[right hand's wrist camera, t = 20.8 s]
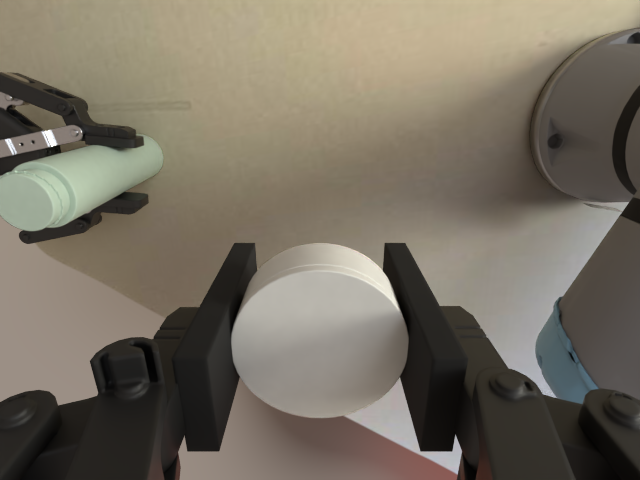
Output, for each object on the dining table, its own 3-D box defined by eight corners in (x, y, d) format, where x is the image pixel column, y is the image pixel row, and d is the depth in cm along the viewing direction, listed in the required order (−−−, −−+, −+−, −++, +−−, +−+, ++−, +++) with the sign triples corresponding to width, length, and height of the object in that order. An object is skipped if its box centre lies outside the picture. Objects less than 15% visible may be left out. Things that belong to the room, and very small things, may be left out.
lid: (242, 369, 13) (230, 412, 11) (244, 235, 11) (230, 263, 9) (384, 379, 13) (393, 423, 11) (408, 249, 11) (425, 278, 10)
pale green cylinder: (167, 142, 37) (63, 181, 22) (159, 182, 39) (57, 246, 23) (122, 127, 37) (-16, 157, 21) (116, 169, 38) (-17, 225, 23)
